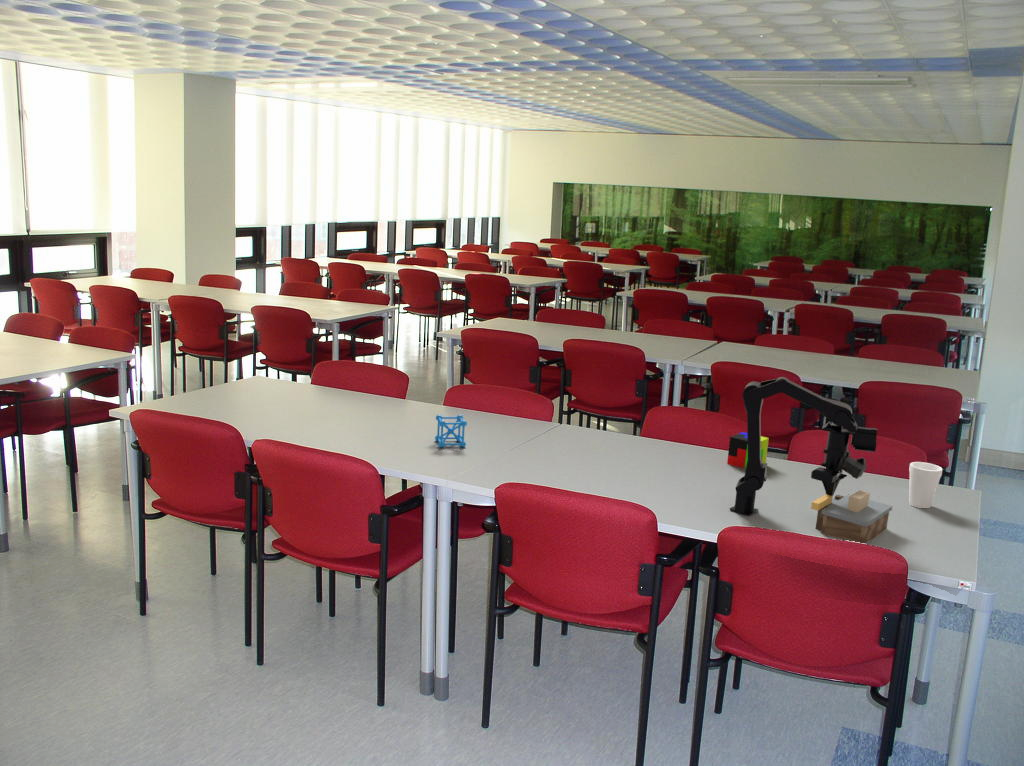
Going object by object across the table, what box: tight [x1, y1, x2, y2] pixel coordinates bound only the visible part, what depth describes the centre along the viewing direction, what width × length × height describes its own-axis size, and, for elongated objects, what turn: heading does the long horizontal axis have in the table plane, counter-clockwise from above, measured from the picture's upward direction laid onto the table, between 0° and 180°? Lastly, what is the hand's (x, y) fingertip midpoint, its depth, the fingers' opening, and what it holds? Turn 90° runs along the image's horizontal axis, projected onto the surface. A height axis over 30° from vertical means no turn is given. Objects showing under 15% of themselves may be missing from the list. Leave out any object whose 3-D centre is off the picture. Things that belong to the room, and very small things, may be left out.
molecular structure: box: [434, 414, 468, 449], centre depth 324 cm, size 10×10×10 cm
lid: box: [821, 490, 893, 527], centre depth 262 cm, size 20×16×5 cm
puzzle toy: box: [726, 431, 769, 470], centre depth 320 cm, size 10×10×10 cm
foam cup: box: [908, 461, 943, 509], centre depth 287 cm, size 10×9×13 cm
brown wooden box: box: [815, 494, 890, 544], centre depth 263 cm, size 19×15×7 cm
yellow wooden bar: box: [810, 493, 834, 511], centre depth 260 cm, size 10×2×2 cm, turn 139°
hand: (829, 497), depth 264 cm, fingers closed
